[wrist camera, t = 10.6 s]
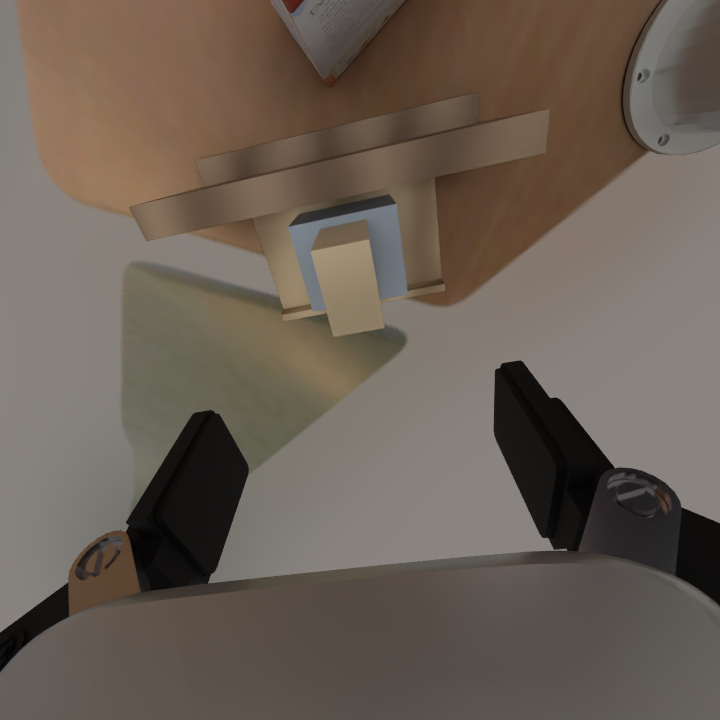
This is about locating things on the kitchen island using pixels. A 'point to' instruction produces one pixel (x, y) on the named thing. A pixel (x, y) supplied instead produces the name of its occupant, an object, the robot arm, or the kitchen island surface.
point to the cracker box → (334, 29)
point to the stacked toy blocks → (351, 261)
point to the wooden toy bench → (348, 184)
